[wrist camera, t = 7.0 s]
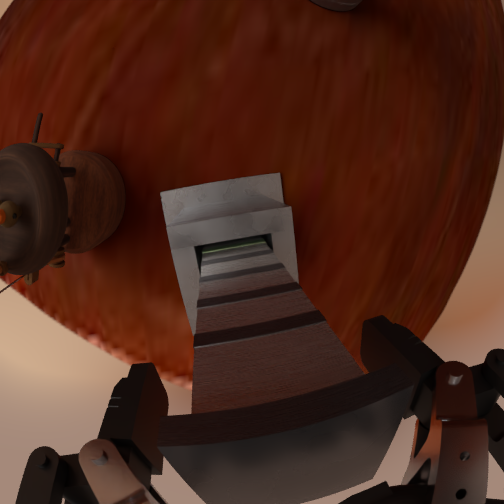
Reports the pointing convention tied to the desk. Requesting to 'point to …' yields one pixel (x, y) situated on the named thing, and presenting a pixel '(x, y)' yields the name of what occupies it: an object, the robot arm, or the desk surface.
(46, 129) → the desk surface
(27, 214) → the brown piece
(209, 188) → the stand
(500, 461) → the robot arm
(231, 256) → the column
